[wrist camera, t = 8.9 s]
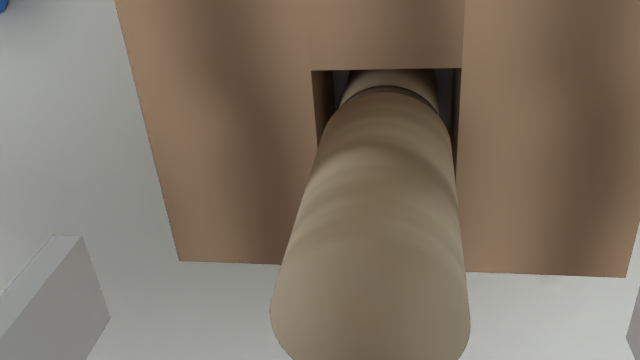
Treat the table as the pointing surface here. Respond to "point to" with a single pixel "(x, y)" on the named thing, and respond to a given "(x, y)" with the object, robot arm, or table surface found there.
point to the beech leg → (377, 232)
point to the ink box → (2, 5)
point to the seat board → (454, 108)
